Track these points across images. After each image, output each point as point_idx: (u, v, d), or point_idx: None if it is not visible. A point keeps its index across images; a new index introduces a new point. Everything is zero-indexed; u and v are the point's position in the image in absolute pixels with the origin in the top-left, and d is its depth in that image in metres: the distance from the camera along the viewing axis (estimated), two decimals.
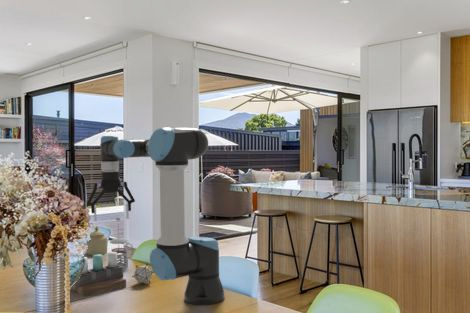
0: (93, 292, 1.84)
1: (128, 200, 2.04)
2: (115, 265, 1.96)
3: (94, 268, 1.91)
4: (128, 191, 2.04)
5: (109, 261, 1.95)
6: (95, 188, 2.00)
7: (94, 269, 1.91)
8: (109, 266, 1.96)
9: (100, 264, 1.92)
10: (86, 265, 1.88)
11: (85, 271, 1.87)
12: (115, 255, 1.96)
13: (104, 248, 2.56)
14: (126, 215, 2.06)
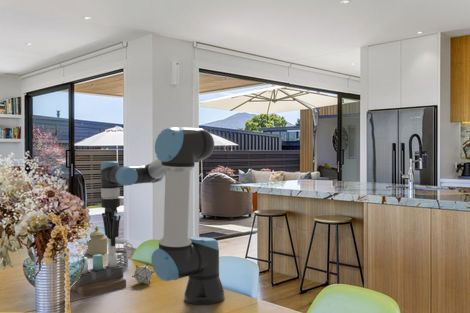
0: (93, 292, 1.84)
1: (110, 235, 1.95)
2: (115, 266, 1.96)
3: (94, 268, 1.91)
4: (113, 225, 1.93)
5: (109, 262, 1.95)
6: (103, 218, 2.00)
7: (94, 269, 1.91)
8: (109, 267, 1.96)
9: (100, 264, 1.92)
10: (86, 265, 1.88)
11: (85, 271, 1.87)
12: (115, 256, 1.96)
13: (104, 248, 2.56)
14: None
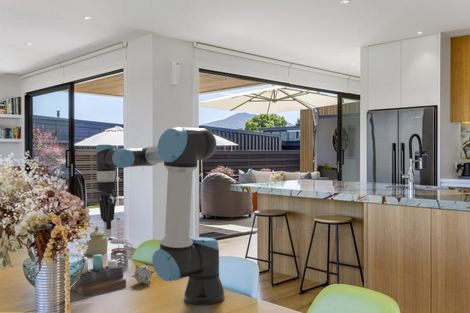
0: (93, 292, 1.84)
1: (106, 218, 1.94)
2: None
3: (94, 268, 1.91)
4: (108, 208, 1.92)
5: None
6: (99, 201, 1.99)
7: (94, 269, 1.91)
8: None
9: (100, 264, 1.92)
10: (86, 265, 1.88)
11: (85, 271, 1.87)
12: (115, 263, 1.96)
13: (104, 248, 2.56)
14: None
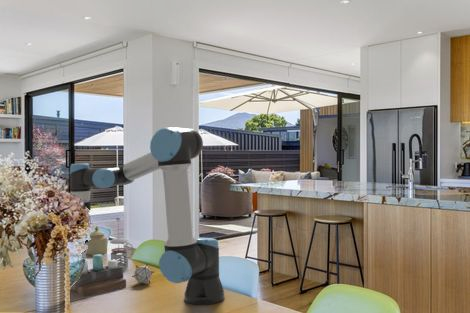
0: (93, 292, 1.84)
1: None
2: None
3: (94, 268, 1.91)
4: None
5: None
6: None
7: (94, 269, 1.91)
8: None
9: (100, 264, 1.92)
10: (86, 267, 1.88)
11: (85, 273, 1.88)
12: (115, 263, 1.96)
13: (104, 248, 2.56)
14: (83, 255, 1.89)
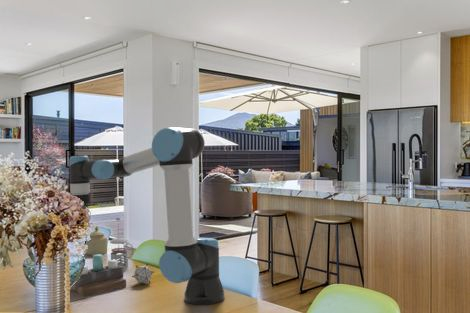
0: (93, 292, 1.84)
1: None
2: None
3: (94, 268, 1.91)
4: None
5: None
6: None
7: (94, 269, 1.91)
8: None
9: (100, 264, 1.92)
10: (86, 273, 1.88)
11: None
12: (115, 263, 1.96)
13: (104, 248, 2.56)
14: None
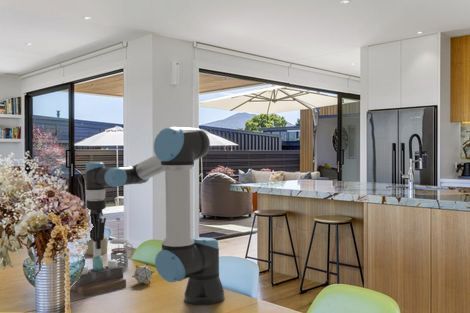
0: (93, 292, 1.84)
1: (95, 237, 1.91)
2: None
3: (94, 269, 1.91)
4: (98, 228, 1.89)
5: None
6: None
7: (94, 270, 1.91)
8: None
9: (100, 265, 1.92)
10: (86, 273, 1.88)
11: None
12: (115, 263, 1.96)
13: (104, 248, 2.56)
14: None
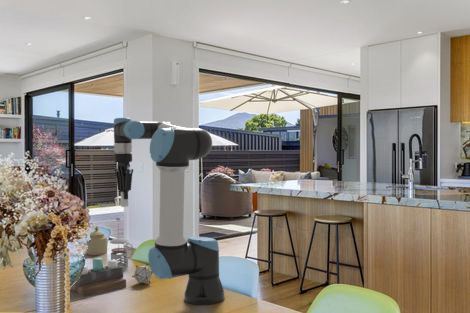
0: (93, 292, 1.84)
1: (123, 188, 2.03)
2: None
3: (94, 271, 1.91)
4: (126, 178, 2.01)
5: None
6: (116, 173, 2.08)
7: None
8: None
9: (100, 267, 1.92)
10: (86, 273, 1.88)
11: None
12: (115, 263, 1.96)
13: (104, 248, 2.56)
14: None
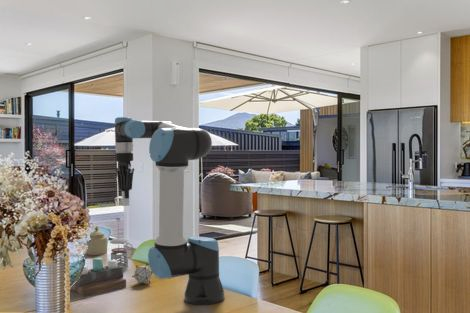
0: (93, 292, 1.84)
1: (124, 187, 2.04)
2: None
3: (94, 271, 1.91)
4: (127, 178, 2.01)
5: None
6: (117, 172, 2.08)
7: None
8: None
9: (100, 267, 1.92)
10: (86, 273, 1.88)
11: None
12: (115, 263, 1.96)
13: (104, 248, 2.56)
14: None
